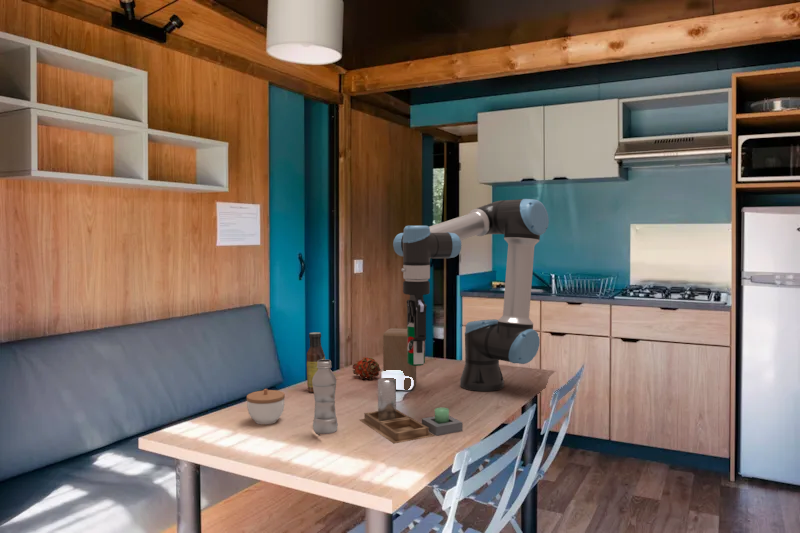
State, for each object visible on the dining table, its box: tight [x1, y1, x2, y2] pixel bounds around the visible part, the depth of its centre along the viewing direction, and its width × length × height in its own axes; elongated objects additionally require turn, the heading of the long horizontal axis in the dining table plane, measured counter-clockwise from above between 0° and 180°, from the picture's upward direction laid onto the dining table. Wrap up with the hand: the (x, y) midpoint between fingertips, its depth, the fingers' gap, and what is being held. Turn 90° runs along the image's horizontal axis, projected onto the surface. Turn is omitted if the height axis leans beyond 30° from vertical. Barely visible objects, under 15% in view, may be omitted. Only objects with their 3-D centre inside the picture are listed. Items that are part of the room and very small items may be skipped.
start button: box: [434, 406, 450, 424], centre depth 165 cm, size 4×4×3 cm
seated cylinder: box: [377, 377, 397, 421], centre depth 171 cm, size 5×5×12 cm
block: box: [382, 327, 417, 390], centre depth 213 cm, size 10×10×20 cm
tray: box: [359, 408, 435, 444], centre depth 167 cm, size 12×22×3 cm, turn 27°
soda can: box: [406, 322, 426, 367], centre depth 174 cm, size 5×5×12 cm
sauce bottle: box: [306, 331, 326, 393], centre depth 209 cm, size 7×6×20 cm
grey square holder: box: [421, 415, 464, 437], centre depth 165 cm, size 8×8×4 cm
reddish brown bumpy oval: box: [352, 356, 381, 380], centre depth 227 cm, size 8×8×12 cm
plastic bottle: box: [312, 358, 339, 436], centre depth 164 cm, size 6×7×20 cm
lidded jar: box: [246, 388, 286, 425], centre depth 176 cm, size 11×11×9 cm
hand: (416, 361), depth 175 cm, fingers closed on soda can, 5 cm apart
